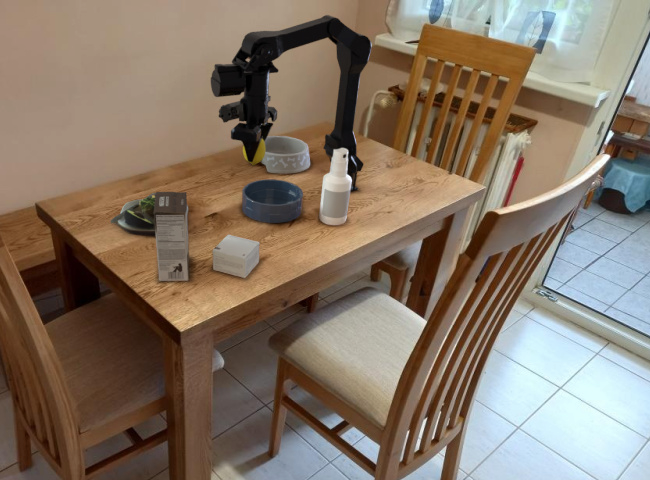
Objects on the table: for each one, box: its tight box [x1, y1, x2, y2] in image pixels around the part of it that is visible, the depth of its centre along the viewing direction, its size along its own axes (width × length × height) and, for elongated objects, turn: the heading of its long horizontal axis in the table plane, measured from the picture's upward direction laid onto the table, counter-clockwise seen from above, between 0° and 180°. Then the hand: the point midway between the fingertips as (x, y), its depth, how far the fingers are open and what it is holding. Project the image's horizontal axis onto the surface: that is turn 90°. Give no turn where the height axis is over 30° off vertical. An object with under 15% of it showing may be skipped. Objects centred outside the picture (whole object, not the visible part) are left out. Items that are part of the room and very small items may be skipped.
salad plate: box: [109, 192, 189, 237], centre depth 141 cm, size 19×18×5 cm
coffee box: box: [154, 191, 190, 282], centre depth 119 cm, size 9×6×16 cm
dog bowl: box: [259, 135, 311, 175], centre depth 172 cm, size 17×18×5 cm
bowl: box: [241, 178, 304, 224], centre depth 146 cm, size 15×15×5 cm
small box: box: [211, 234, 260, 279], centre depth 124 cm, size 8×8×5 cm
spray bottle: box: [318, 148, 352, 226], centre depth 139 cm, size 7×7×18 cm
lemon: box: [242, 139, 265, 166], centre depth 142 cm, size 6×6×8 cm
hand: (253, 157), depth 143 cm, fingers closed on lemon, 5 cm apart
